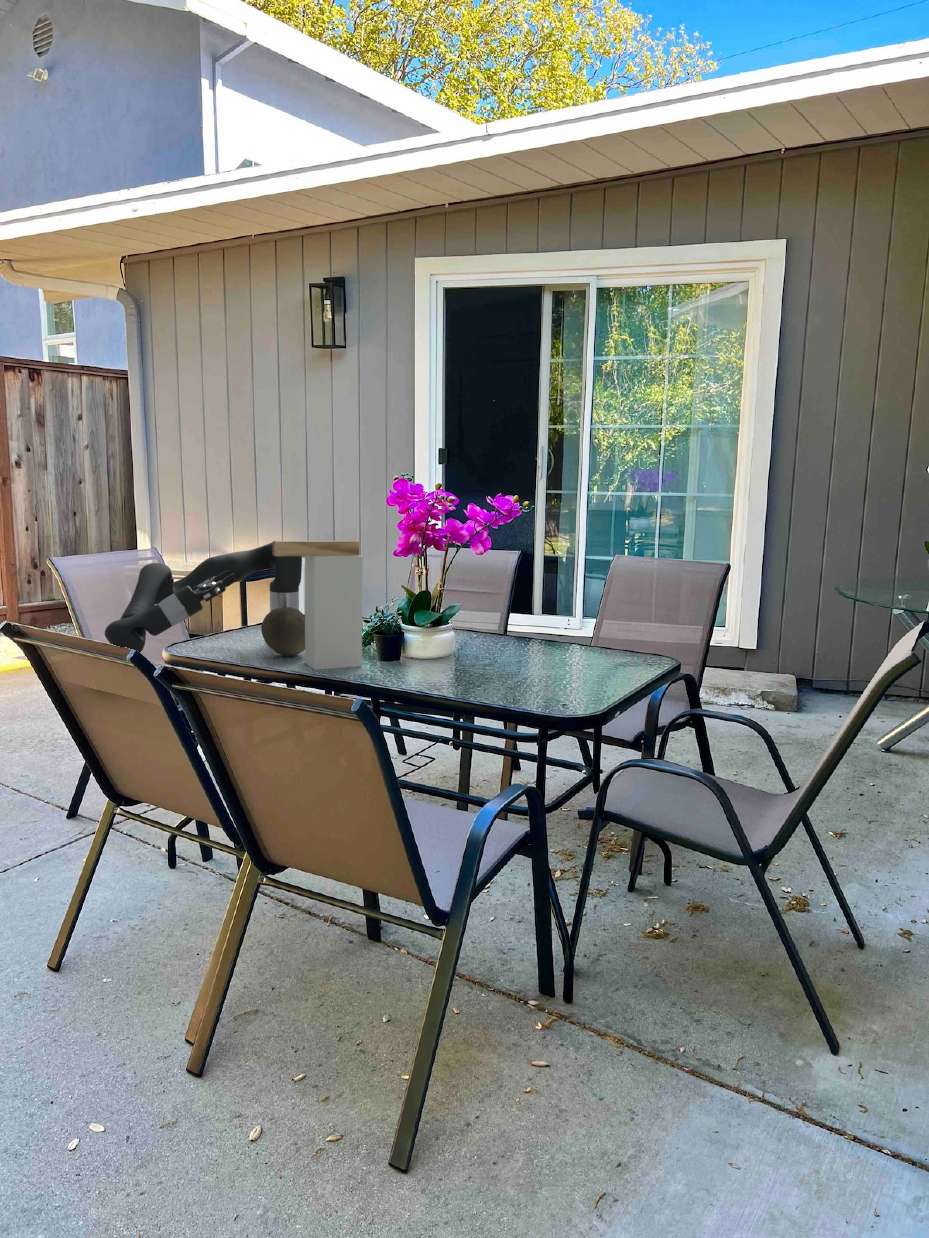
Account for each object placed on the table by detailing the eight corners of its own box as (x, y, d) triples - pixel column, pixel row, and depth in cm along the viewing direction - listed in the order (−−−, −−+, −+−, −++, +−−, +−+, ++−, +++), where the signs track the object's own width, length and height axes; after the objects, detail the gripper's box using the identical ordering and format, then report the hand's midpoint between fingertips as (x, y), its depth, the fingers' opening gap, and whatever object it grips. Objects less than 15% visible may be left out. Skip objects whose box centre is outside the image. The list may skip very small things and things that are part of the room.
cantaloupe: (296, 650, 276) (296, 603, 273) (318, 658, 265) (318, 608, 262) (254, 654, 267) (254, 605, 265) (275, 662, 256) (274, 612, 254)
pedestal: (305, 663, 257) (304, 553, 252) (350, 659, 263) (351, 553, 258) (314, 669, 248) (314, 556, 243) (361, 666, 254) (362, 556, 249)
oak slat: (272, 555, 245) (272, 540, 244) (354, 554, 255) (354, 540, 255) (276, 556, 242) (276, 541, 241) (359, 555, 252) (359, 541, 251)
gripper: (183, 614, 242) (235, 583, 247) (191, 621, 229) (245, 589, 234) (169, 591, 239) (221, 560, 244) (176, 597, 227) (231, 565, 232)
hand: (233, 574), depth 239 cm, fingers open, 8 cm apart
